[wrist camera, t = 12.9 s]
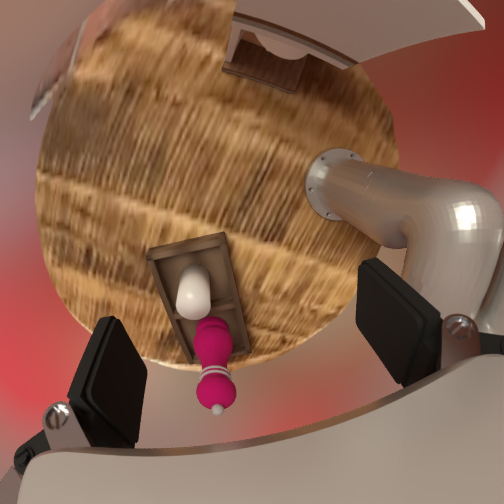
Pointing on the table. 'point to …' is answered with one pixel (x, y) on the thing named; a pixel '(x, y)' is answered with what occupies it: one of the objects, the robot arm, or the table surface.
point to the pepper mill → (214, 364)
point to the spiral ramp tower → (333, 33)
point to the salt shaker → (194, 292)
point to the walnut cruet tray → (221, 288)
